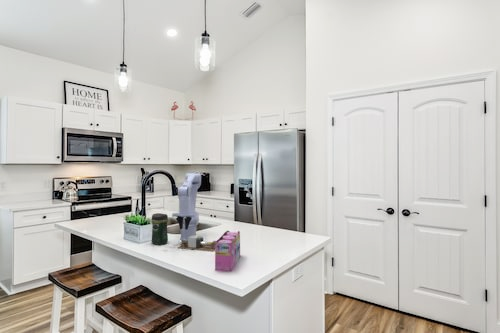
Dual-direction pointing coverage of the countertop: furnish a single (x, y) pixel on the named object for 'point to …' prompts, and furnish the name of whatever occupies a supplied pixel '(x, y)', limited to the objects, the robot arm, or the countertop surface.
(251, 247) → the countertop surface
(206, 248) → the pipe stand
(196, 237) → the sleeve
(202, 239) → the nut
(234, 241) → the gum box
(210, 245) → the pipe
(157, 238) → the coffee jar
